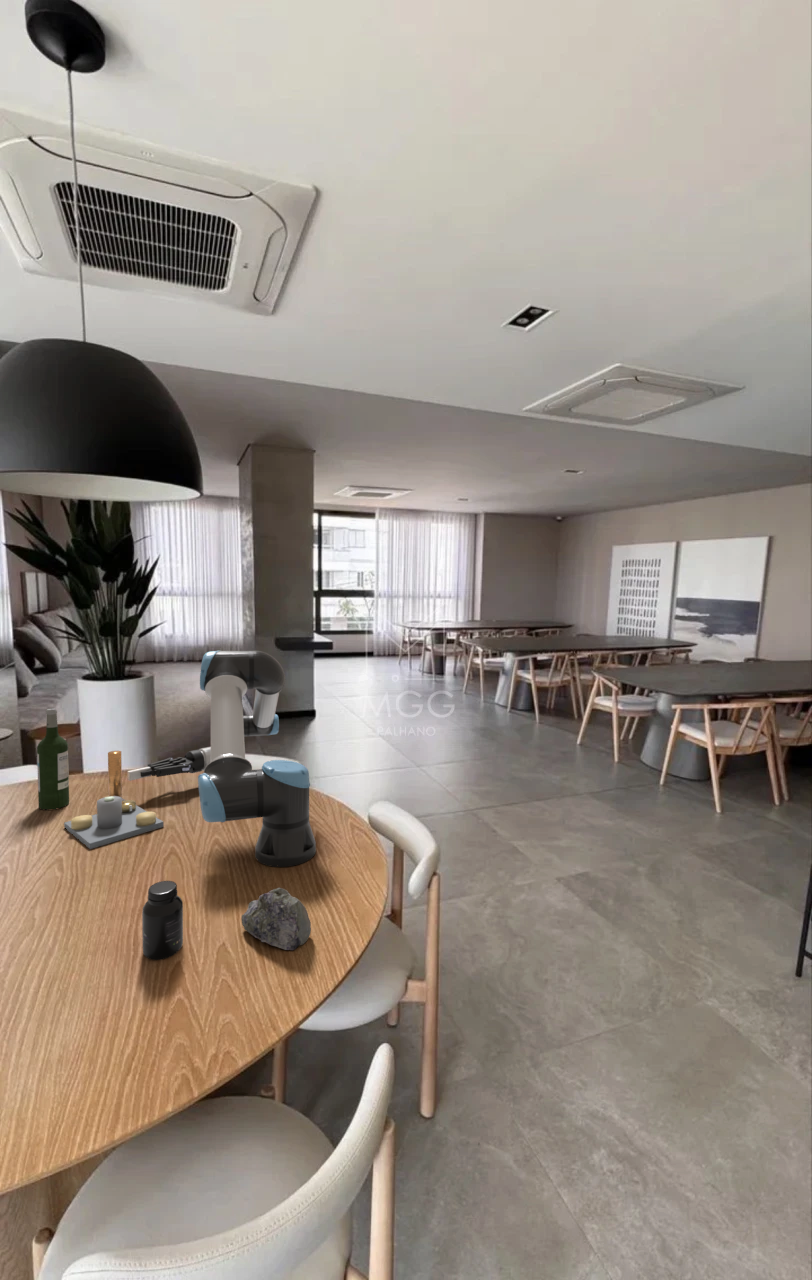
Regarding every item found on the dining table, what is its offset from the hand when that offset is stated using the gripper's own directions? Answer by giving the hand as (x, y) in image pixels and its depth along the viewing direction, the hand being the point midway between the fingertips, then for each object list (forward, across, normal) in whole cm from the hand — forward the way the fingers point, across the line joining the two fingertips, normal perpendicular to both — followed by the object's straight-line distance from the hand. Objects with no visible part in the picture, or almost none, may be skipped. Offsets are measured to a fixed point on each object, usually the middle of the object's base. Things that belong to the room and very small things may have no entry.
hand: (128, 775), depth 169 cm
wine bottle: (+16, +15, -9) cm, 24 cm away
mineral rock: (+8, -89, -9) cm, 90 cm away
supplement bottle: (+25, -77, -9) cm, 81 cm away
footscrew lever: (+4, -5, -7) cm, 10 cm away
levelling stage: (+10, -15, -9) cm, 20 cm away
